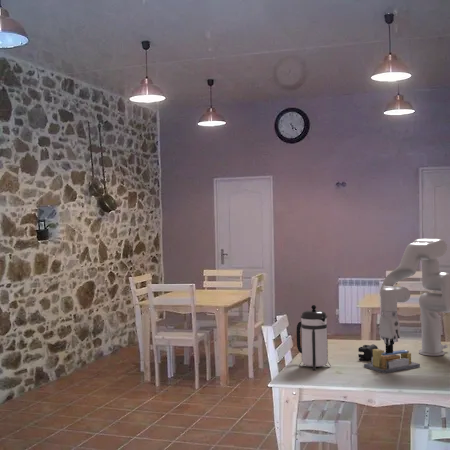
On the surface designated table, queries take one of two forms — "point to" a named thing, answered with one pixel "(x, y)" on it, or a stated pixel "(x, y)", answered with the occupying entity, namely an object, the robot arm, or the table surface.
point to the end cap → (366, 352)
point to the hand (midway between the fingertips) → (389, 352)
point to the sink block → (390, 362)
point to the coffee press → (313, 338)
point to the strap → (395, 352)
